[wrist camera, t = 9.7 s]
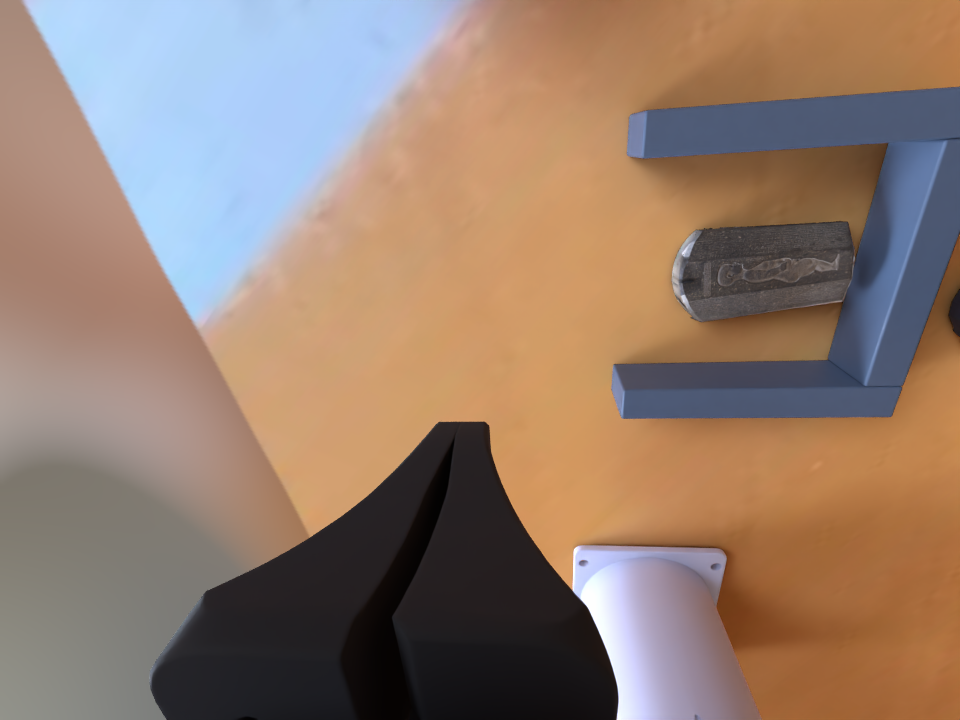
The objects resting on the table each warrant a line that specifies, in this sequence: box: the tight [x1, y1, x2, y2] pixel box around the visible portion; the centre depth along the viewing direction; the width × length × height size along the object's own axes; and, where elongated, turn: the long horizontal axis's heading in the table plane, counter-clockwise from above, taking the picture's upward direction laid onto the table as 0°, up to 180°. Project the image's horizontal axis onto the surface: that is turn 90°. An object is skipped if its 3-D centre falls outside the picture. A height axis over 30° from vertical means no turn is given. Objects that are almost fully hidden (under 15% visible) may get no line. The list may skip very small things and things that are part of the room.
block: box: [672, 221, 855, 322], centre depth 18 cm, size 4×6×2 cm, turn 102°
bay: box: [612, 87, 960, 419], centre depth 17 cm, size 11×10×2 cm
